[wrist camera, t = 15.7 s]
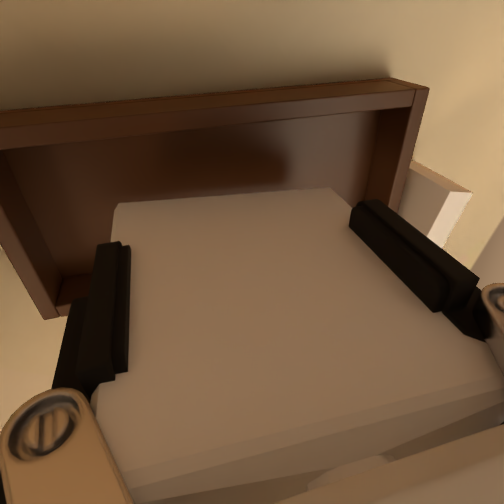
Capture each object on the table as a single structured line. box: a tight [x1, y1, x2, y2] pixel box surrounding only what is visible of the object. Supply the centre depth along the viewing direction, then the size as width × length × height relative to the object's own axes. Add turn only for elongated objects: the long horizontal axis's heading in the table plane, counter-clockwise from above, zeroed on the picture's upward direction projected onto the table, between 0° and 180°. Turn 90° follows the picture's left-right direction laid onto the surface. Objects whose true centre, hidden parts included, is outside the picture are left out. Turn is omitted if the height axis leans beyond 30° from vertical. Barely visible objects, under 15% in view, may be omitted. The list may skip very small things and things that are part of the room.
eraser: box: [397, 161, 473, 248], centre depth 16 cm, size 1×5×4 cm, turn 171°
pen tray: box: [0, 78, 429, 320], centre depth 13 cm, size 15×7×2 cm, turn 92°
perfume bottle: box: [90, 187, 504, 504], centre depth 8 cm, size 8×2×12 cm, turn 88°
